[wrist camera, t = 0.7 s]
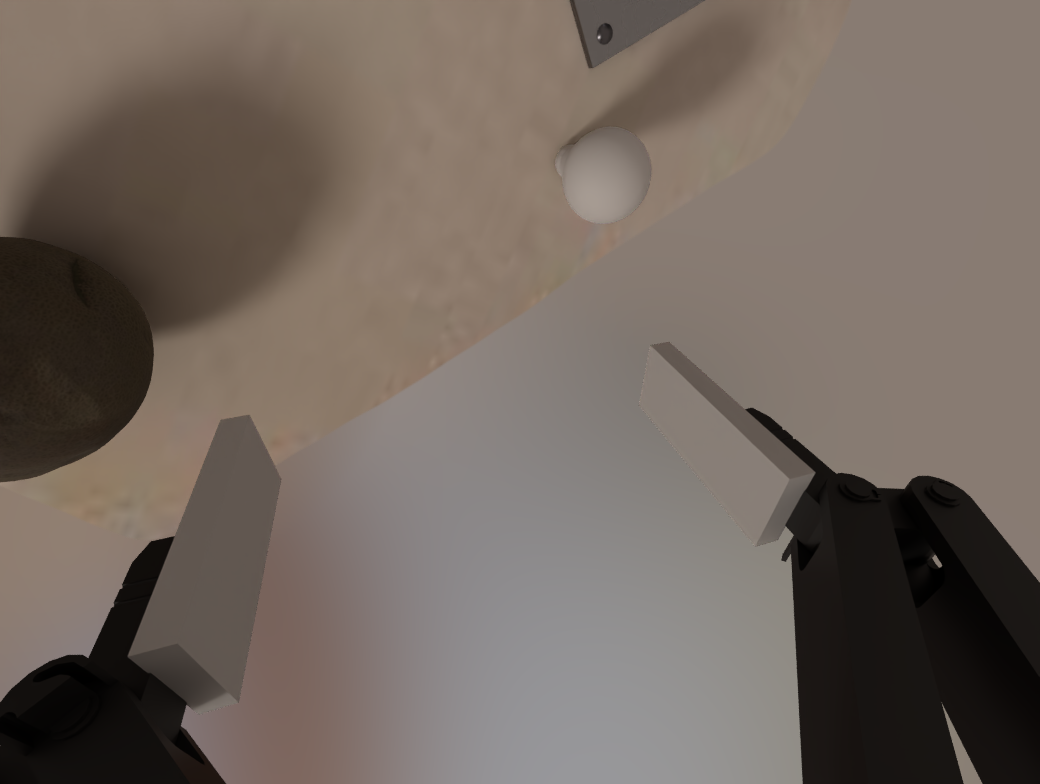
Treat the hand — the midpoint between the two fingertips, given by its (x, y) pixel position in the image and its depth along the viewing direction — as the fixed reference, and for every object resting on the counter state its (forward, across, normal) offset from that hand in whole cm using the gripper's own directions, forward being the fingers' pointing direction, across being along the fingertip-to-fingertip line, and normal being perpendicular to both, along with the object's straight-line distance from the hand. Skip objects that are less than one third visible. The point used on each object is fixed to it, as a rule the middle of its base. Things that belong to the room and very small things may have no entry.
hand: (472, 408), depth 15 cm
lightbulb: (+27, +14, +3) cm, 31 cm away
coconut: (+27, -26, -5) cm, 38 cm away
